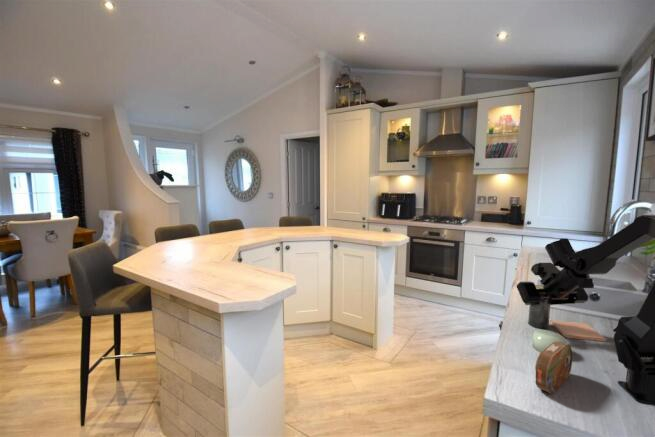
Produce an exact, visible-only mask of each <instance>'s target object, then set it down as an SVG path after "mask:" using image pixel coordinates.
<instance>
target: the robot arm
mask: <svg viewBox="0 0 655 437" xmlns="http://www.w3.org/2000/svg"><path fill="white" fill-rule="evenodd" d="M654 239H655V215H654V214H641V215H639V216H637V217H635V219H634V220H633V221H632V222H631V223H629V224H627V225H626V226H625V227H623V228H621V229H620V230H619V231H618V232H616V233H614V234H613V235H612V236H610V237H608V238H607V239H605V240H603V241H602V242H601V243H599V244H598V245H595V246H592V247H588V248H584V249H580V250H579V251H575V249H574V248H573V246H572V244H571V242H570V240H569V238H560V239H558V240H554V241H552V242H550V243H547V244H546V245H545V247H544V250H545V251H546V253H547V254H548V257H549V258H550V260H551V262H552V263H551V262H538V263H535V264H533V265H532V266H531V269H530V271H531V272H532V273H533V275H534V276H538V277H540V279H541V280H540V281H539V282H540V285H542V286H543V289H537V288H536V286H535V285H536V284H535V282H532V281H519V282H518V283H517V284H516V288H517V291H518V293H519V296H520V298H521V300H522V302H523V303H524V305H525V306H530V305H533V304H540V303H539V301H540V298H541V297H550V299H551V304H550V306H553V305H575V304H585V303H586V302H587V301H589V295H588V293H587V291H586V290H585V289H594V287H595V284H594V282H593V278H592V277H591V276H590V275H606V274H607V273H609V272H610V271H611V270H612V269H614V268H615V267H616V265H617V262H618V260H619V259H620V258H623V257H624V256H626V255H627V254H630V253H631V252H633V251H635V250H636V249H638V248H640V247H642V246H644V245H645V244H647V243H648V242H651V241H652V240H654ZM558 267H559V268H558ZM561 268H562V269H561ZM560 269H561V270H560ZM617 322H618V323H617V325H616V327H615V328H613V329H612V331H613V332H615V333H614V335H613V342H614V345H615V351H616V355H617V359H618V362H619V363H621V364H622V365H623V367H624V368H625V369H626V377H625V381H623V380H622V381H621V380H617V384H618V385H619V386H620V387H621V388H622V389H623V390H624V391H625V392H626V393H628V394H629V396H631V397H632V398H633V399H634V400H635V401H636V402H639V403H644V404H645V403H646V404H653V405H655V281H654V282H653V283H652V286H651V287H650V290H649V292H648V294H647V295H646V298H645V299H644V301H643V303H642V304H641V307H640V309H639V311H638V313H637V314H636V315H635V316H621V317H620V318H619V319H618V321H617Z"/></svg>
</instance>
